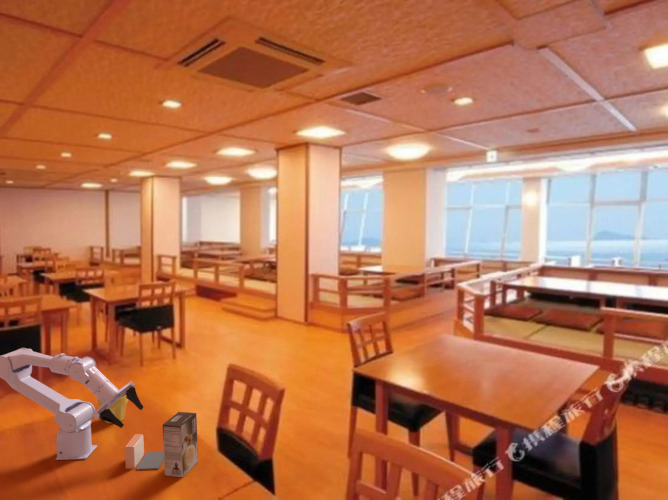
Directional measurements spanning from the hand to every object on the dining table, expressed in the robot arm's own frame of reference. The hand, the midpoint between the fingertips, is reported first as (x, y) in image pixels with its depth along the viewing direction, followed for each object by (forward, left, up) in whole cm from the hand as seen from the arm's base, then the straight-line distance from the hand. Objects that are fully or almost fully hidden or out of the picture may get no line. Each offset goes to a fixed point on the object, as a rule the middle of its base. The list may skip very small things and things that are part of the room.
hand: (132, 417), depth 142 cm
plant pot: (-18, +28, -14) cm, 36 cm away
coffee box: (+17, -7, -14) cm, 23 cm away
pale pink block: (+1, -2, -14) cm, 14 cm away
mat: (+7, -2, -14) cm, 15 cm away
